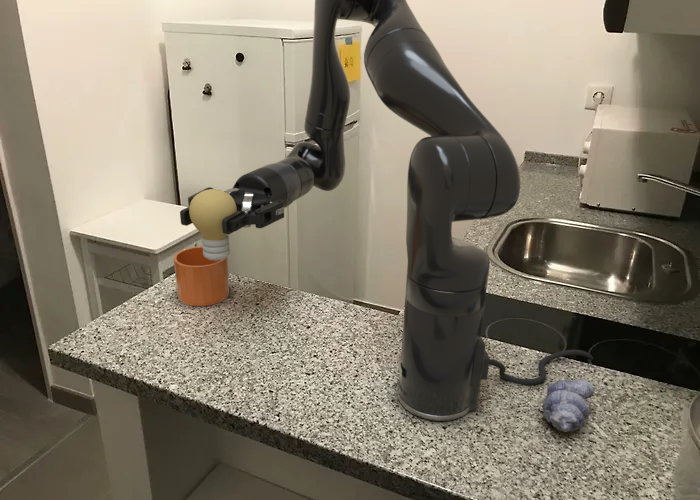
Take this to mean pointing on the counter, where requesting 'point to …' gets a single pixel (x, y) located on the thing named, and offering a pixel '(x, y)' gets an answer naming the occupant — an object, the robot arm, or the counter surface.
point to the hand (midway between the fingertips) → (203, 223)
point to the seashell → (567, 404)
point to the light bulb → (212, 221)
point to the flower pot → (200, 278)
